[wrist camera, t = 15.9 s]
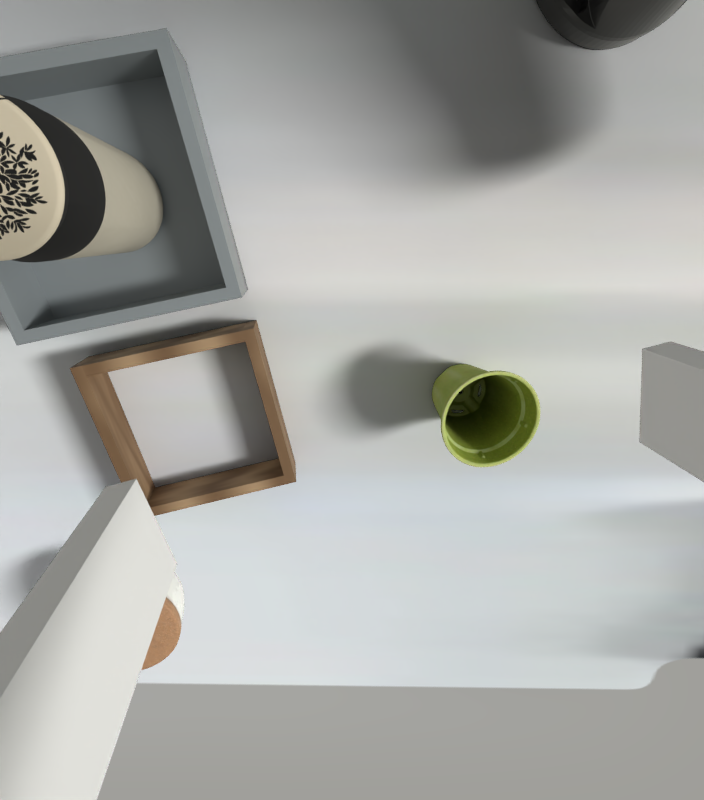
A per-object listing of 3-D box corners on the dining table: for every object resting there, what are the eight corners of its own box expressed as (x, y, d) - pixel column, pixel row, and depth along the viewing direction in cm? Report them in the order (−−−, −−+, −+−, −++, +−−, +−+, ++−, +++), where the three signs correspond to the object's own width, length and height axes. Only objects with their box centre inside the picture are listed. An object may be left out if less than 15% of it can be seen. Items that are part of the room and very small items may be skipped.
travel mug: (175, 246, 39) (90, 255, 22) (80, 258, 38) (-81, 276, 21) (149, 142, 36) (30, 62, 19) (46, 153, 35) (-171, 80, 18)
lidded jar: (169, 526, 49) (144, 588, 41) (209, 595, 53) (194, 666, 45) (76, 558, 49) (31, 628, 40) (123, 625, 53) (91, 702, 44)
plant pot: (414, 432, 50) (439, 471, 41) (417, 350, 46) (445, 374, 38) (494, 427, 51) (533, 463, 43) (502, 346, 47) (547, 368, 39)
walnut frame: (256, 320, 43) (253, 328, 39) (295, 462, 49) (296, 481, 45) (88, 356, 42) (69, 368, 38) (149, 497, 48) (137, 519, 44)
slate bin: (185, 60, 35) (166, 28, 30) (247, 289, 42) (241, 297, 36) (-49, 102, 34) (-114, 77, 29) (53, 330, 41) (16, 345, 35)
